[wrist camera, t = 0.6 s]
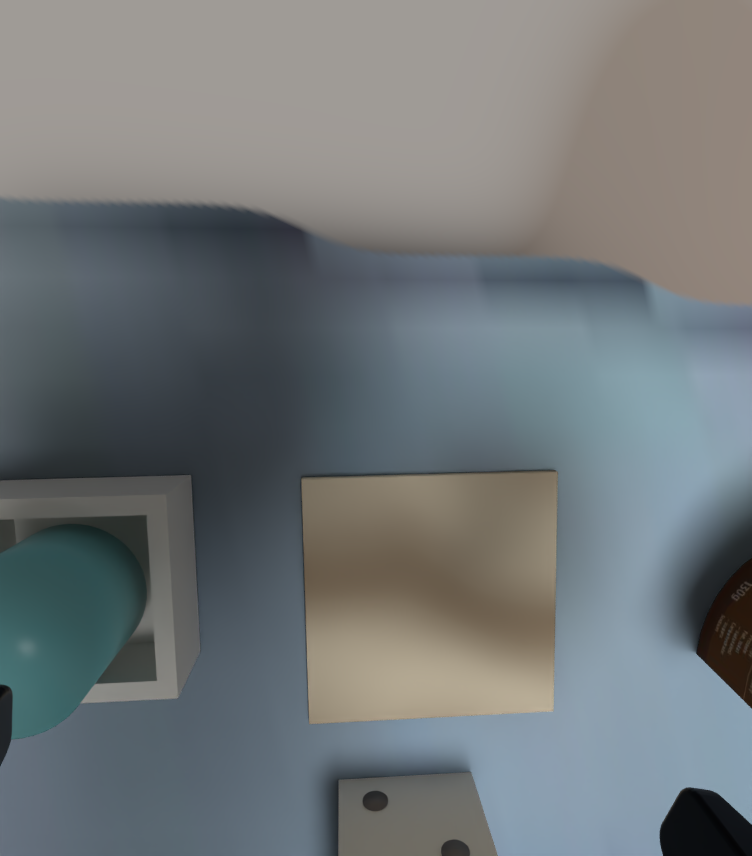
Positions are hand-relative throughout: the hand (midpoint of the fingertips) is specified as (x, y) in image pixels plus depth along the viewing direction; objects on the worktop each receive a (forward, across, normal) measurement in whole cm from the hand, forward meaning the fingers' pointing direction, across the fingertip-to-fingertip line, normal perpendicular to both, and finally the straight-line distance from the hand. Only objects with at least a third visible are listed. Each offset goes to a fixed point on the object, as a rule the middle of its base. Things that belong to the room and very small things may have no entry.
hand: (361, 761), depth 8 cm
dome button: (+10, +8, +6) cm, 14 cm away
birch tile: (+12, -4, +6) cm, 14 cm away
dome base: (+12, +8, +7) cm, 16 cm away
